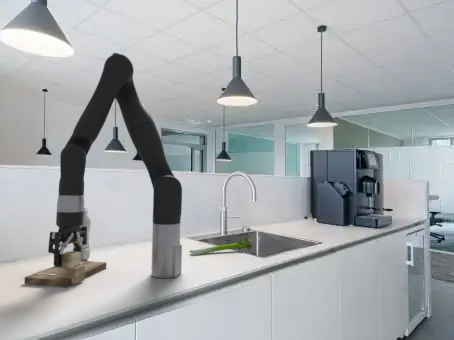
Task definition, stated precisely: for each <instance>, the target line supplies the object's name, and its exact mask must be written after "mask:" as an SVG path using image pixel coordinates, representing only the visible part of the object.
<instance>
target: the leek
mask: <svg viewBox="0 0 454 340" xmlns="http://www.w3.org/2000/svg"><path fill="white" fill-rule="evenodd" d="M253 240H254V239H253V238H247V237H245V238H244V241H243V239H242V240H237V241H238V242H235V243H230V244H223V245H216V246H215V245H214V246H210V247H204V248H203V247H202V248H196V249H191V250H189V253H191V256H192V257H193V256H195V257H196V256H200V255H204V254H209V253H214V252H220V251H224V250H226V251H227V250H233V249H238V250H242V249H247V251H248V252H250V251H251V250H252V249H253V246H255V245H254V243H250V242H251V241H253Z"/></svg>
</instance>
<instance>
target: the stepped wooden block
mask: <svg viewBox="0 0 454 340" xmlns="http://www.w3.org/2000/svg"><path fill="white" fill-rule="evenodd" d="M62 254H63V261H62V266H61V267H57V278H69V279H72V284H73V285H77V284H79V283H81V282H83V281H85V279H86V278H85V265H81V252H73V250H72V251H71V250H66V251H65V250H64V251H63V253H62ZM84 278H85V279H84Z"/></svg>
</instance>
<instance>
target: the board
mask: <svg viewBox="0 0 454 340" xmlns="http://www.w3.org/2000/svg"><path fill="white" fill-rule="evenodd" d="M81 265H85V278H84V280H85V279H88V278H89V277H91V276H93V275H95V274H98V273H99V272H102V271H105V269H107V262H103V261H91V260H90V261H89V260H84V261H81ZM24 285H30V286H31V285H32V286H44V287H54V288H55V287H56V288H65V289H66V288H68V287H70V286H73V285H74V284H72V279H69V278H57V267H55V266H54V265H53V266H52V267H49V268H46V269H43V270H40V271H38V272H35V273H33V274H30V275H28V276H25V277H24Z"/></svg>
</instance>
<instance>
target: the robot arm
mask: <svg viewBox="0 0 454 340" xmlns="http://www.w3.org/2000/svg"><path fill="white" fill-rule="evenodd" d="M133 65H134V64H133V62H132V61H131V60H130V58H129V57H128V56H126V55H125V54H121V53H116V54H112V55H110V56H109V57H107V59H105V61H104V65H103V68H102V72H101V75H100V78H99V80H98V84H97V85H96V88H95V90H94V92H93V94H92V96H91V97H90V100H89V101H88V103H87V105H86V107H85V108H84V110H83V111H82V113H81V115H80V116H79V117H80V118H79V119H78V120H77V123H76V124H75V126H74V129H73V131H72V134H71V136H70V137H69V139H68V140H67V142H66V144H65V146H64V148H62V150H61V151H60V155H59V156H60V157H59V158H60V160H59V162H60V163H59V164H60V168H59V169H60V171H59V172H60V177H59V182H58V197H57V202H56V218H55V225H56V226H57V227H58V231H50V232H49V239H48V248H47V251H48V253H49V254H53V267H54V266H55V267H61V266H62V261H63V254H62V253H63V252H65V249H66V248H68V245H71V244H72V245H74V247H75V248H74V252H81V251H82V247H83V245H86V244H87V227H86V226H81V225H83V220H84V208H85V173H86V172H85V171H86V166H87V155H88V154H89V152H90V149H91V148H92V146H93V144H94V143H95V141H96V140H97V138H98V137H99V135H100V133H101V130H102V129H103V127H104V125H105V123H106V121H107V118H108V115H109V113H110V111H111V108H112V105H113V103H114V102H115V100H116V102H117V104H118V107H119V109H120V114H121V115H122V119H123V122H124V124H125V128H126V129H127V133H128V135H129V137H130V139H131V142H132V144H133V146H134V148H135V150H136V152H137V154H138V155H139V157H140V159H141V161H142V162H143V164H144V166H145V167H146V170H147V173H148V176H149V179H150V182H151V186H152V189H153V196H152V197H153V199H152V200H153V201H152V202H153V203H152V204H153V205H152V206H153V207H152V209H153V210H152V235H151V236H152V240H151V276H152V277H153V278H157V279H169V278H176V277H178V276H179V275H180V274H182V256H183V255H182V253H183V252H182V251H183V249H182V248H183V245H182V244H181V219H182V218H181V217H182V209H183V207H182V205H183V204H182V203H183V201H182V200H183V187H182V186H183V185H182V184H181V182H180V180H179V179H178V178H176V177H175V175H174V173H173V171H172V169H171V168H170V165H169V163H168V161H167V158H166V155H165V154H166V153H165V150H164V146H163V143H162V140H161V136H160V133H159V131H158V128H157V126H156V124H155V121H154V119H153V117H152V115H151V114H150V112H149V111H148V109H147V108H146V107H145V105H144V104H143V102H142V100H141V98H140V97H139V95H138V92H137V88H136V85H135V83H134V78H133V77H134V72H135V71H134V66H133ZM82 237H83V241H82V239H81V238H82Z"/></svg>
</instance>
